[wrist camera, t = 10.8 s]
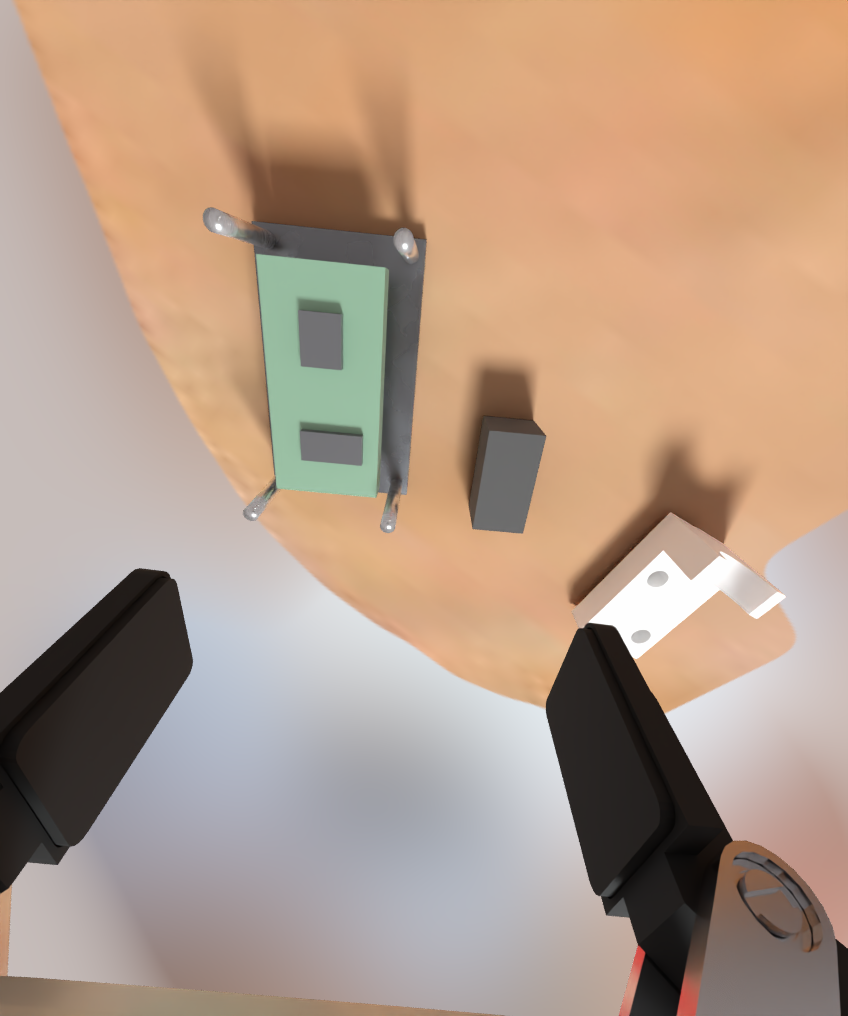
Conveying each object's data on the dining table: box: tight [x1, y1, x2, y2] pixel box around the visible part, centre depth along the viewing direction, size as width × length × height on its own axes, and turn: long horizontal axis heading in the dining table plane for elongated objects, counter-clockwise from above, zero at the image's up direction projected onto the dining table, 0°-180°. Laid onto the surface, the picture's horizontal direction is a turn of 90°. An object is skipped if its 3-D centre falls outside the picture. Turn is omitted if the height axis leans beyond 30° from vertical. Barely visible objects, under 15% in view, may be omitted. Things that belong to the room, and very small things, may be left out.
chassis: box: [203, 207, 427, 533], centre depth 27 cm, size 18×11×8 cm, turn 175°
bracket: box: [571, 512, 786, 659], centre depth 35 cm, size 13×7×8 cm, turn 150°
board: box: [256, 254, 389, 498], centre depth 25 cm, size 14×7×3 cm, turn 175°
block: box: [469, 416, 546, 534], centre depth 31 cm, size 8×4×4 cm, turn 175°
